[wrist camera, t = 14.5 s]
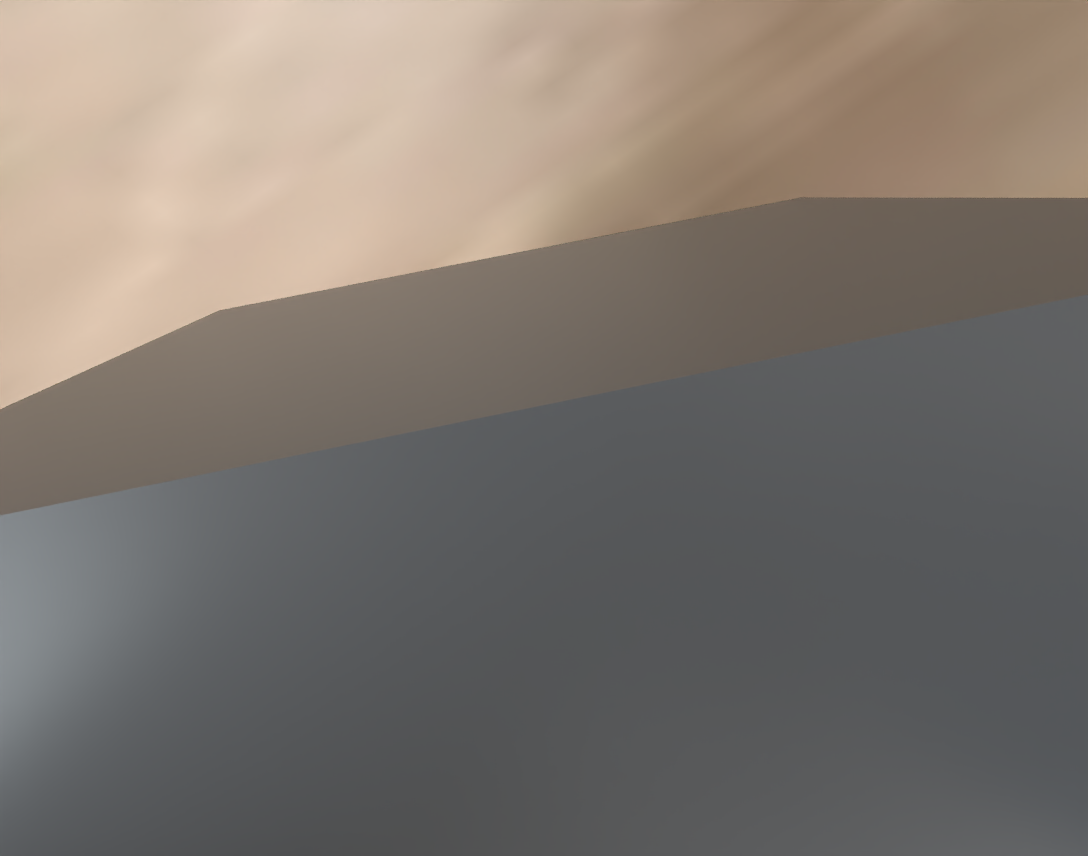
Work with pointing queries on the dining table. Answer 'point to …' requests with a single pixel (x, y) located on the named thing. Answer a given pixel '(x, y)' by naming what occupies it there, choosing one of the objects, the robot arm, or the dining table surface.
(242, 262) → the dining table surface
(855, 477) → the grey square block
